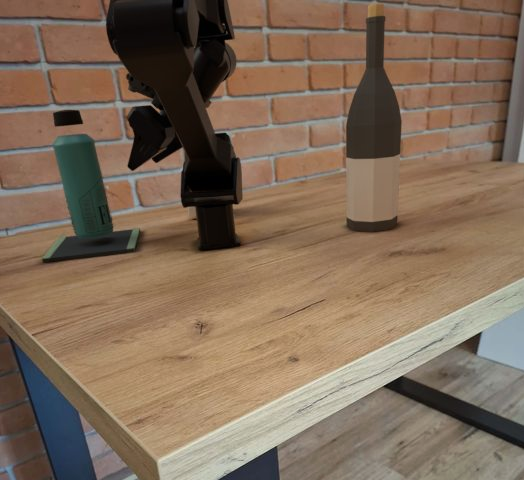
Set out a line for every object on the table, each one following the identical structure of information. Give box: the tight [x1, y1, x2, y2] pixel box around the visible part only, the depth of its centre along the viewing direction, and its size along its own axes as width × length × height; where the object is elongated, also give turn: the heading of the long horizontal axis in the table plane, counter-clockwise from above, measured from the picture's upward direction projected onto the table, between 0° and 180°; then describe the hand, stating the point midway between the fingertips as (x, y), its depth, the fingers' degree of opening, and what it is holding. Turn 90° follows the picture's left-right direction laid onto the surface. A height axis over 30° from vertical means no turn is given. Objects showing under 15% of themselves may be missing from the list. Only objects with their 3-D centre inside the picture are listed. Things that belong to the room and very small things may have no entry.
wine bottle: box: [345, 2, 403, 233], centre depth 76 cm, size 8×8×30 cm
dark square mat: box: [41, 227, 141, 263], centre depth 85 cm, size 14×14×1 cm
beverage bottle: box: [52, 109, 115, 238], centre depth 80 cm, size 6×7×20 cm
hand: (142, 164), depth 84 cm, fingers open, 9 cm apart
